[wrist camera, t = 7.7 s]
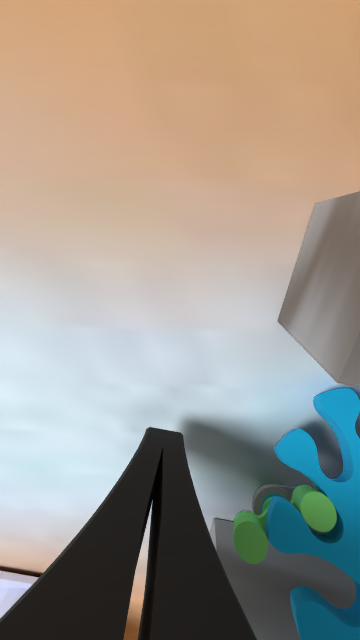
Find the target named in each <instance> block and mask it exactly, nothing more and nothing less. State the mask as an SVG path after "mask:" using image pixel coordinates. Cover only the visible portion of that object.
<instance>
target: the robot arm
mask: <svg viewBox="0 0 360 640" xmlns="http://www.w3.org/2000/svg"><path fill="white" fill-rule="evenodd" d="M152 500H153V502H152ZM151 504H152V514H151V526H150V538H149V550H148V562H147V574H146V584H145V593H144V601H143V608H142V615H141V621H140V628H139V635H138V640H257V639H256V637H255V634H254V632H253V630H252V628H251V626H250V624H249V622H248V620H247V618H246V616H245V614H244V611H243V609H242V607H241V605H240V603H239V601H238V599H237V597H236V595H235V593H234V591H233V589H232V586H231V584H230V582H229V580H228V577H227V575H226V573H225V570H224V568H223V566H222V563H221V561H220V559H219V556H218V554H217V551H216V549H215V546H214V544H213V541H212V539H211V536H210V534H209V531H208V528H207V525H206V523H205V520H204V517H203V514H202V511H201V508H200V505H199V502H198V499H197V496H196V493H195V489H194V485H193V482H192V478H191V475H190V471H189V467H188V463H187V458H186V453H185V448H184V441H183V435H182V434H181V433H179V432H174V431H168V430H163V429H157V428H152V427H149V428H147V429H146V432H145V435H144V437H143V439H142V441H141V443H140V445H139V447H138V449H137V451H136V453H135V454H134V456H133V458H132V459H131V461H130V463H129V464H128V466H127V467H126V469H125V471H124V472H123V474H122V475H121V477H120V478H119V480H118V481H117V483H116V484H115V486H114V487H113V488H112V490H111V491H110V493H109V494H108V496H107V497H106V498H105V500H104V501H103V502H102V504H101V505H100V506H99V508H98V509H97V510H96V512H95V513H94V514H93V516H92V517H91V518H90V519H89V521H88V522H87V523H86V524H85V526H84V527H83V528H82V529H81V530H80V532H79V533H78V534H77V535H76V536H75V538H74V539H73V540H72V541H71V542H70V543H69V545H68V546H67V547H66V548H65V549H64V550H63V552H62V553H61V554H60V555H59V556H58V557H57V559H56V560H55V561H54V562H53V563H52V564H51V565H50V566H49V567H48V569H47V570H46V571H45V572H44V573H43V574H42V575H41V576H40V577H34V576H28V575H22V574H17V573H11V572H5V571H0V640H123V638H124V632H125V626H126V621H127V615H128V609H129V603H130V598H131V592H132V586H133V580H134V575H135V569H136V565H137V561H138V557H139V553H140V549H141V545H142V541H143V537H144V533H145V528H146V524H147V520H148V516H149V512H150V508H151Z"/></svg>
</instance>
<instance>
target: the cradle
mask: <svg viewBox="0 0 360 640" xmlns="http://www.w3.org/2000/svg"><path fill="white" fill-rule="evenodd" d="M278 322H279V323H280V324H281V325H282V326H283V328H284V329H285V330H286V331H287V332H288V333H289V334H290V335H291V336H292V337H293V338H294V339H295V340H296V341H297V342H298V343H299V344H300V345H301V346H302V347H303V348H304V349H305V350H306V351H307V352H308V353H309V354H310V355H311V356H312V357H313V358H314V359H315V360H316V361H317V362H318V363H319V365H320V366H321V367H322V368H323V369H324V370H325V371H326V372H327V373H328V374H329V375H330V376H331V377H332V378H333V379H334V380H335V381H336V382H337V383H341V384H346V385H352V386H358V387H360V192H356V193H352V194H349V195H345V196H341V197H338V198H334V199H330V200H326V201H323V202H319V203H315V206H314V209H313V212H312V215H311V218H310V221H309V225H308V228H307V231H306V234H305V237H304V240H303V243H302V246H301V249H300V253H299V256H298V259H297V262H296V265H295V268H294V271H293V274H292V278H291V281H290V284H289V287H288V290H287V293H286V296H285V299H284V303H283V306H282V309H281V312H280V315H279V318H278ZM233 524H234V522H231V521H226V520H220V519H214V521H213V524H212V527H211V530H210V533H209V534H210V536H211V539H212V541H213V544H214V546H215V549H216V551H217V554H218V556H219V559H220V561H221V563H222V566H223V568H224V570H225V573H226V575H227V577H228V580H229V582H230V584H231V586H232V589H233V591H234V593H235V595H236V597H237V599H238V601H239V603H240V605H241V607H242V609H243V611H244V614H245V616H246V618H247V620H248V622H249V624H250V626H251V628H252V630H253V632H254V634H255V637H256V639H257V640H301V638H300V635H299V633H298V630H297V627H296V623H295V620H294V616H293V613H292V607H291V601H290V591H291V590H293V589H294V588H296V587H298V586H306V587H309V588H311V589H313V590H315V591H316V592H318V593H319V594H320V595H321V596H322V597H323V598H325V599H326V600H327V601H328V602H329V603H331V604H332V605H333V606H335V607H337V608H342V609H345V608H348V607H350V606H352V604H353V603H354V601H355V598H356V588H355V584H354V581H353V579H352V578H351V577H349V576H348V575H347V574H346V573H344V572H343V571H342V570H340V569H339V568H338V567H336V566H335V565H333V564H332V563H330V562H328V561H326V560H324V559H322V558H320V557H317V556H313V555H310V554H301V553H298V554H284V553H282V552H280V551H278V550H277V549H276V548H274V547H273V546H272V545H271V543H270V542H269V541H268V538H267V536H266V538H267V542H268V550H267V554H266V556H265V558H264V559H263V560H262V561H261V562H260V563H257V564H250V563H247V562H245V561H244V560H243V559H242V558H241V557H240V556H239V555H238V553H237V551H236V549H235V546H234V540H233Z"/></svg>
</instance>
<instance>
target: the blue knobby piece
mask: <svg viewBox="0 0 360 640" xmlns="http://www.w3.org/2000/svg"><path fill="white" fill-rule="evenodd" d="M313 402H314V407H315V409H316V411H317V412H318V414H319V415H320V416H321V417H322V418H324V419H325V420H326V422H327V423H328V424H329V425H330V427H331V428H332V430H333V432H334V433H335V435H336V437H337V440H338V442H339V445H340V449H341V454H342V459H343V472H342V474H341V475H340V476H339V477H337V478H334V479H329V478H328V477H327V476H326V475H325V474H324V473H323V472H322V470H321V468H320V465H319V460H318V453H317V448H316V444H315V442H314V440H313V439H312V437H311V436H310V435H309V434H308V433H306V432H305V431H304V430H301V429H294V430H291V431H289V432H288V433H287V434H285V435H284V436H283V437H282V438H281V439H280V440H279V442H278V443H277V444H276V446H275V447H274V451H275V454H276V456H277V457H278V459H279V460H280V461H281V462H282V463H284V464H285V465H287V466H289V467H291V468H293V469H296V470H297V471H299V472H301V473H302V474H304V475H305V476H306V477H307V478H308V479H310V480H311V482H312V483H313V484H314V485H315V486H316V487H317V488H318V489H314V488H313V487H311V486H308V485H299V486H297V487H293V486H285V485H277V484H265V485H263V486H261V487H260V488H259V489H258V490H257V491H256V493H255V494H254V497H253V503H252V504H253V512H254V513H253V512H251V511H241V512H239V513H238V514H237V515H236V517H235V519H234V524H233V540H234V546H235V549H236V551H237V553H238V555H239V556H240V557H241V558H242V559H243V560H244V561H245V562H247V563H250V564H257V563H260V562H261V561H262V560H263V559H264V558H265V556H266V554H267V550H268V542H267V538H268V541H269V542H270V543H271V545H272V546H273V547H274V548H276V549H277V550H278V551H280V552H282V553H284V554H298V553H301V554H310V555H313V556H317V557H320V558H322V559H324V560H326V561H328V562H330V563H332V564H333V565H335V566H336V567H338V568H339V569H340V570H342V571H343V572H344V573H346V574H347V575H348V576H349V577H351V578H352V579H353V581H354V584H355V588H356V598H355V601H354V603H353V604H352V606H350V607H348V608H345V609H342V608H337V607H335V606H333V605H332V604H331V603H329V602H328V601H327V600H326V599H325V598H323V597H322V596H321V595H320V594H319V593H318V592H316V591H315V590H313V589H311V588H309V587H306V586H298V587H296V588H294V589H293V590H291V591H290V601H291V607H292V613H293V616H294V620H295V623H296V627H297V630H298V633H299V635H300V638H301V640H360V438H359V437H358V435H357V433H356V430H355V423H356V420H357V417H358V415H359V412H360V400H359V398H358V396H357V394H356V393H355V392H354V391H353V390H352V389H349V388H339V389H334V390H330V391H327V392H324V393H321V394H319V395H317V396H315V397H314V400H313ZM266 536H267V538H266Z"/></svg>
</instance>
